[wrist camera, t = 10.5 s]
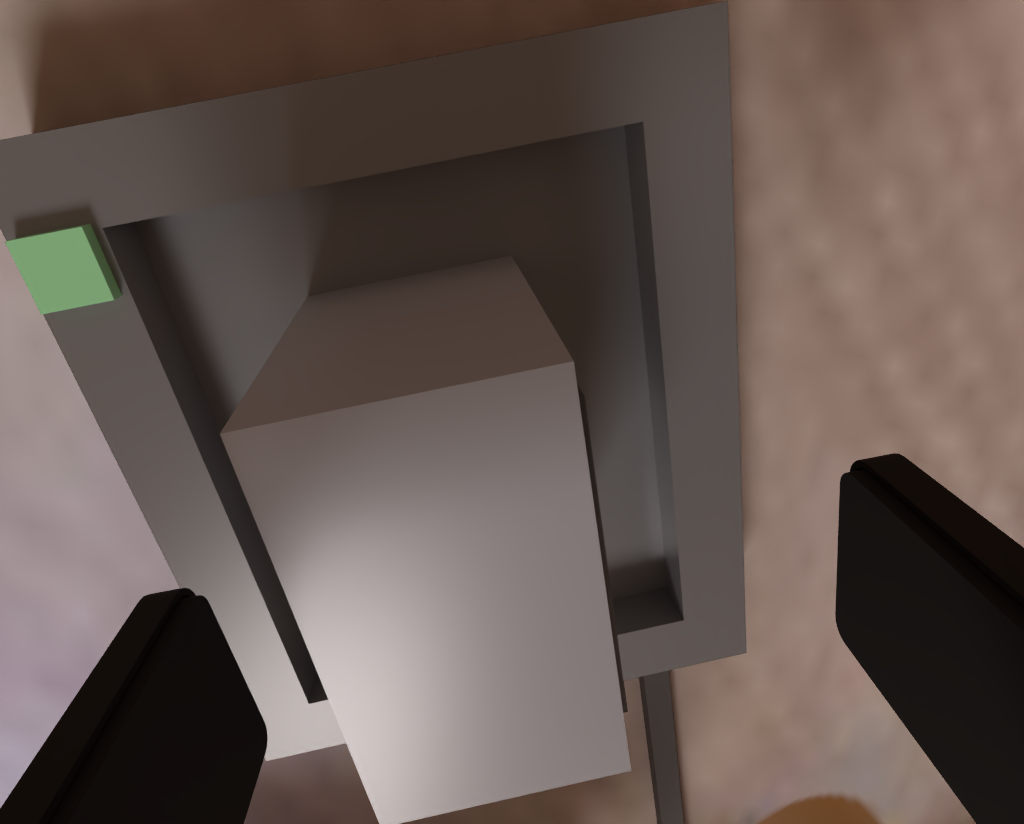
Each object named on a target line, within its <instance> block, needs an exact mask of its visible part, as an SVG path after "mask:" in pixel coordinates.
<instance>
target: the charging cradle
mask: <svg viewBox="0 0 1024 824" xmlns="http://www.w3.org/2000/svg"><path fill="white" fill-rule="evenodd" d="M0 229H1V231H2V233H3V235H4V237H5V239H6V241H5V243H6V245H7V247H8V249H9V251H10V253H11V255H12V257H13V259H14V261H15V263H16V265H17V267H18V269H19V271H20V273H21V275H22V277H23V279H24V281H25V283H26V285H27V287H28V289H29V291H30V293H31V295H32V297H33V299H34V301H35V303H36V305H37V307H38V309H39V311H40V313H41V315H42V314H43V315H44V317H45V319H46V321H47V323H48V325H49V327H50V329H51V331H52V333H53V335H54V337H55V339H56V341H57V343H58V345H59V347H60V349H61V351H62V353H63V355H64V357H65V359H66V361H67V363H68V365H69V367H70V369H71V371H72V373H73V375H74V377H75V379H76V381H77V383H78V385H79V387H80V389H81V391H82V393H83V395H84V397H85V399H86V401H87V403H88V405H89V407H90V409H91V411H92V413H93V415H94V417H95V419H96V421H97V423H98V425H99V427H100V429H101V431H102V433H103V435H104V437H105V439H106V441H107V443H108V445H109V447H110V449H111V451H112V453H113V455H114V457H115V459H116V461H117V463H118V465H119V467H120V469H121V471H122V473H123V475H124V477H125V479H126V481H127V483H128V485H129V487H130V489H131V491H132V493H133V495H134V497H135V499H136V501H137V503H138V505H139V507H140V509H141V511H142V513H143V515H144V517H145V519H146V521H147V523H148V525H149V527H150V529H151V531H152V533H153V535H154V537H155V539H156V541H157V543H158V545H159V547H160V549H161V551H162V553H163V555H164V557H165V559H166V561H167V563H168V565H169V567H170V569H171V571H172V573H173V575H174V577H175V579H176V581H177V583H178V585H179V587H180V588H189V589H191V590H192V591H193V592H194V593H195V595H196V596H197V595H202V596H204V597H205V598H207V600H208V602H209V603H210V606H211V608H212V610H213V612H214V614H215V616H216V618H217V621H218V623H219V625H220V627H221V629H222V631H223V634H224V636H225V638H226V640H227V642H228V644H229V646H230V649H231V651H232V653H233V655H234V657H235V659H236V661H237V664H238V666H239V668H240V670H241V672H242V674H243V677H244V679H245V681H246V683H247V685H248V687H249V689H250V692H251V694H252V696H253V698H254V700H255V702H256V704H257V707H258V709H259V711H260V713H261V715H262V717H263V719H264V722H265V724H266V728H267V738H268V740H267V749H266V753H265V756H264V757H265V759H266V761H269V760H274V759H278V758H282V757H287V756H291V755H296V754H300V753H305V752H309V751H313V750H318V749H322V748H327V747H331V746H336V745H340V744H344V743H346V741H345V739H344V736H343V734H342V732H341V729H340V727H339V724H338V722H337V719H336V717H335V714H334V712H333V710H332V707H331V705H330V702H329V700H328V697H327V695H326V692H325V690H324V688H323V685H322V683H321V680H320V678H319V675H318V673H317V670H316V668H315V666H314V663H313V661H312V658H311V656H310V653H309V651H308V648H307V646H306V644H305V641H304V639H303V636H302V634H301V631H300V629H299V626H298V624H297V622H296V619H295V617H294V614H293V612H292V609H291V607H290V605H289V602H288V600H287V597H286V595H285V592H284V590H283V587H282V585H281V583H280V580H279V578H278V575H277V573H276V570H275V568H274V565H273V563H272V561H271V558H270V556H269V553H268V551H267V548H266V546H265V543H264V541H263V539H262V536H261V534H260V531H259V529H258V526H257V524H256V521H255V519H254V517H253V514H252V512H251V509H250V507H249V504H248V502H247V499H246V497H245V495H244V492H243V490H242V487H241V485H240V482H239V480H238V477H237V475H236V473H235V470H234V468H233V465H232V463H231V460H230V458H229V456H228V453H227V451H226V448H225V446H224V443H223V441H222V438H221V436H220V433H221V431H222V430H223V428H224V426H225V425H226V423H227V422H228V420H229V419H230V417H231V415H232V414H233V412H234V411H235V409H236V408H237V406H238V404H239V403H240V401H241V400H242V398H243V397H244V395H245V393H246V392H247V390H248V389H249V387H250V386H251V384H252V383H253V381H254V379H255V378H256V376H257V375H258V373H259V372H260V370H261V368H262V367H263V365H264V364H265V362H266V361H267V359H268V357H269V356H270V354H271V353H272V351H273V350H274V348H275V346H276V345H277V343H278V342H279V340H280V339H281V337H282V335H283V334H284V332H285V331H286V329H287V328H288V326H289V325H290V323H291V321H292V320H293V318H294V317H295V315H296V314H297V312H298V310H299V309H300V307H301V306H302V304H303V303H304V301H305V299H306V298H307V296H310V295H315V294H320V293H325V292H330V291H335V290H340V289H345V288H350V287H355V286H360V285H365V284H370V283H375V282H380V281H385V280H390V279H396V278H401V277H406V276H411V275H416V274H421V273H426V272H431V271H436V270H441V269H446V268H451V267H456V266H461V265H466V264H471V263H476V262H481V261H486V260H491V259H496V258H501V257H506V256H511V255H512V257H513V259H514V261H515V262H516V264H517V266H518V267H519V269H520V271H521V272H522V274H523V276H524V278H525V279H526V281H527V283H528V284H529V286H530V288H531V289H532V291H533V293H534V295H535V296H536V298H537V300H538V301H539V303H540V305H541V306H542V308H543V310H544V311H545V313H546V315H547V317H548V318H549V320H550V322H551V323H552V325H553V327H554V328H555V330H556V332H557V334H558V335H559V337H560V339H561V340H562V342H563V344H564V345H565V347H566V349H567V351H568V352H569V354H570V356H571V357H572V359H573V361H574V366H575V373H576V380H577V384H578V386H579V387H580V389H581V391H582V393H583V395H584V397H585V402H586V410H587V417H588V424H589V432H590V439H591V446H592V454H593V461H594V468H595V476H596V483H597V490H598V498H599V505H600V512H601V520H602V527H603V534H604V542H605V549H606V556H607V564H608V571H609V578H610V586H611V593H612V600H613V608H614V615H615V622H616V630H617V637H618V644H619V652H620V659H621V666H622V674H623V681H624V680H628V679H633V678H637V677H641V676H646V675H650V674H655V673H659V672H664V671H668V670H673V669H677V668H681V667H686V666H690V665H695V664H699V663H704V662H708V661H712V660H717V659H721V658H726V657H730V656H735V655H739V654H743V653H746V622H745V587H744V552H743V518H742V483H741V448H740V413H739V379H738V344H737V309H736V275H735V240H734V205H733V170H732V136H731V101H730V66H729V31H728V1H724V2H719V3H713V4H708V5H703V6H698V7H692V8H687V9H682V10H677V11H672V12H666V13H661V14H656V15H651V16H645V17H640V18H635V19H630V20H624V21H619V22H614V23H609V24H604V25H598V26H593V27H588V28H583V29H577V30H572V31H567V32H562V33H557V34H551V35H546V36H541V37H536V38H530V39H525V40H520V41H515V42H510V43H504V44H499V45H494V46H489V47H483V48H478V49H473V50H468V51H463V52H457V53H452V54H447V55H442V56H436V57H431V58H426V59H421V60H416V61H410V62H405V63H400V64H395V65H389V66H384V67H379V68H374V69H369V70H363V71H358V72H353V73H348V74H342V75H337V76H332V77H327V78H322V79H316V80H311V81H306V82H301V83H295V84H290V85H285V86H280V87H275V88H269V89H264V90H259V91H254V92H248V93H243V94H238V95H233V96H228V97H222V98H217V99H212V100H207V101H201V102H196V103H191V104H186V105H181V106H175V107H170V108H165V109H160V110H154V111H149V112H144V113H139V114H134V115H128V116H123V117H118V118H113V119H107V120H102V121H97V122H92V123H87V124H81V125H76V126H71V127H66V128H60V129H55V130H50V131H45V132H40V133H34V134H29V135H24V136H19V137H13V138H8V139H3V140H0Z"/></svg>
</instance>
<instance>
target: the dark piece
mask: <svg viewBox="0 0 1024 824" xmlns="http://www.w3.org/2000/svg"><path fill="white" fill-rule="evenodd" d="M639 681H640V689H641V697H642V705H643V713H644V721H645V729H646V737H647V745H648V753H649V760H650V768H651V776H652V784H653V792H654V800H655V808H656V816H657V824H684V821H683V811H682V801H681V791H680V781H679V771H678V760H677V750H676V740H675V730H674V720H673V710H672V700H671V690H670V679H669V670H668V671H664V672H659V673H655V674H650V675H646V676H641V677H639Z"/></svg>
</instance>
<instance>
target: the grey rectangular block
mask: <svg viewBox="0 0 1024 824" xmlns="http://www.w3.org/2000/svg"><path fill="white" fill-rule="evenodd" d="M220 436H221V438H222V441H223V443H224V446H225V448H226V451H227V453H228V456H229V458H230V460H231V463H232V465H233V468H234V470H235V473H236V475H237V477H238V480H239V482H240V485H241V487H242V490H243V492H244V495H245V497H246V499H247V502H248V504H249V507H250V509H251V512H252V514H253V517H254V519H255V521H256V524H257V526H258V529H259V531H260V534H261V536H262V539H263V541H264V543H265V546H266V548H267V551H268V553H269V556H270V558H271V561H272V563H273V565H274V568H275V570H276V573H277V575H278V578H279V580H280V583H281V585H282V587H283V590H284V592H285V595H286V597H287V600H288V602H289V605H290V607H291V609H292V612H293V614H294V617H295V619H296V622H297V624H298V626H299V629H300V631H301V634H302V636H303V639H304V641H305V644H306V646H307V648H308V651H309V653H310V656H311V658H312V661H313V663H314V666H315V668H316V670H317V673H318V675H319V678H320V680H321V683H322V685H323V688H324V690H325V692H326V695H327V697H328V700H329V702H330V705H331V707H332V710H333V712H334V714H335V717H336V719H337V722H338V724H339V727H340V729H341V732H342V734H343V736H344V739H345V741H346V744H347V746H348V749H349V751H350V754H351V756H352V758H353V761H354V763H355V766H356V768H357V771H358V773H359V775H360V778H361V780H362V783H363V785H364V788H365V790H366V793H367V795H368V797H369V800H370V802H371V805H372V807H373V810H374V812H375V815H376V817H377V819H378V822H379V824H400V823H405V822H409V821H413V820H418V819H422V818H427V817H431V816H435V815H440V814H444V813H449V812H453V811H457V810H462V809H466V808H470V807H475V806H479V805H484V804H488V803H492V802H497V801H501V800H506V799H510V798H514V797H519V796H523V795H527V794H532V793H536V792H541V791H545V790H549V789H554V788H558V787H562V786H567V785H571V784H576V783H580V782H584V781H589V780H593V779H598V778H602V777H606V776H611V775H615V774H619V773H624V772H628V771H631V765H630V758H629V750H628V743H627V736H626V729H625V722H624V715H623V713H624V712H628V711H627V703H626V696H625V688H624V681H623V674H622V666H621V659H620V652H619V644H618V637H617V630H616V622H615V615H614V608H613V600H612V593H611V586H610V578H609V571H608V564H607V556H606V549H605V542H604V534H603V527H602V520H601V512H600V505H599V498H598V490H597V483H596V476H595V468H594V461H593V454H592V446H591V439H590V432H589V424H588V417H587V410H586V402H585V397H584V395H583V393H582V391H581V389H580V387H579V386H578V384H577V380H576V373H575V366H574V361H573V359H572V357H571V356H570V354H569V352H568V351H567V349H566V347H565V345H564V344H563V342H562V340H561V339H560V337H559V335H558V334H557V332H556V330H555V328H554V327H553V325H552V323H551V322H550V320H549V318H548V317H547V315H546V313H545V311H544V310H543V308H542V306H541V305H540V303H539V301H538V300H537V298H536V296H535V295H534V293H533V291H532V289H531V288H530V286H529V284H528V283H527V281H526V279H525V278H524V276H523V274H522V272H521V271H520V269H519V267H518V266H517V264H516V262H515V261H514V259H513V257H512V255H511V256H506V257H501V258H496V259H491V260H486V261H481V262H476V263H471V264H466V265H461V266H456V267H451V268H446V269H441V270H436V271H431V272H426V273H421V274H416V275H411V276H406V277H401V278H396V279H390V280H385V281H380V282H375V283H370V284H365V285H360V286H355V287H350V288H345V289H340V290H335V291H330V292H325V293H320V294H315V295H310V296H307V298H306V299H305V301H304V303H303V304H302V306H301V307H300V309H299V310H298V312H297V314H296V315H295V317H294V318H293V320H292V321H291V323H290V325H289V326H288V328H287V329H286V331H285V332H284V334H283V335H282V337H281V339H280V340H279V342H278V343H277V345H276V346H275V348H274V350H273V351H272V353H271V354H270V356H269V357H268V359H267V361H266V362H265V364H264V365H263V367H262V368H261V370H260V372H259V373H258V375H257V376H256V378H255V379H254V381H253V383H252V384H251V386H250V387H249V389H248V390H247V392H246V393H245V395H244V397H243V398H242V400H241V401H240V403H239V404H238V406H237V408H236V409H235V411H234V412H233V414H232V415H231V417H230V419H229V420H228V422H227V423H226V425H225V426H224V428H223V430H222V431H221V433H220Z"/></svg>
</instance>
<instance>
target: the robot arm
mask: <svg viewBox="0 0 1024 824" xmlns="http://www.w3.org/2000/svg"><path fill="white" fill-rule="evenodd" d="M836 623H837V627H838V630H839V633H840V635H841V637H842V639H843V641H844V643H845V644H846V645H847V647H848V648H849V650H850V651H851V652H852V654H853V655H854V656H855V658H856V659H857V661H858V662H859V663H860V665H861V666H862V667H863V669H864V670H865V671H866V673H867V674H868V676H869V677H870V678H871V680H872V681H873V682H874V684H875V685H876V687H877V688H878V689H879V691H880V692H881V693H882V695H883V696H884V697H885V699H886V700H887V702H888V703H889V704H890V706H891V707H892V708H893V710H894V711H895V713H896V714H897V715H898V717H899V718H900V719H901V721H902V722H903V723H904V725H905V726H906V728H907V729H908V730H909V732H910V733H911V734H912V736H913V737H914V739H915V740H916V741H917V743H918V744H919V745H920V747H921V748H922V749H923V751H924V752H925V754H926V755H927V756H928V758H929V759H930V760H931V762H932V763H933V765H934V766H935V767H936V769H937V770H938V771H939V773H940V774H941V775H942V777H943V778H944V780H945V781H946V782H947V784H948V785H949V786H950V788H951V789H952V791H953V792H954V793H955V795H956V796H957V797H958V799H959V800H960V801H961V803H962V804H963V806H964V807H965V808H966V810H967V811H968V812H969V814H970V815H971V817H972V818H973V819H974V821H975V822H976V823H977V824H1024V548H1023V547H1022V546H1021V545H1019V544H1018V543H1017V542H1015V541H1014V540H1013V539H1011V538H1010V537H1009V536H1008V535H1006V534H1005V533H1004V532H1002V531H1001V530H1000V529H998V528H997V527H996V526H994V525H993V524H992V523H991V522H989V521H988V520H987V519H985V518H984V517H983V516H981V515H980V514H979V513H977V512H976V511H975V510H973V509H972V508H971V507H970V506H968V505H967V504H966V503H964V502H963V501H962V500H960V499H959V498H958V497H956V496H955V495H954V494H953V493H951V492H950V491H949V490H947V489H946V488H945V487H943V486H942V485H941V484H939V483H938V482H937V481H935V480H934V479H933V478H932V477H930V476H929V475H928V474H926V473H925V472H924V471H922V470H921V469H920V468H918V467H917V466H916V465H915V464H913V463H912V462H911V461H909V460H908V459H907V458H905V457H904V456H902V455H900V454H889V455H883V456H878V457H873V458H868V459H862V460H857V461H855V462H854V463H853V464H852V466H851V469H850V472H848V473H845V474H843V475H842V477H841V481H840V500H839V529H838V558H837V587H836ZM267 740H268V738H267V728H266V724H265V722H264V719H263V717H262V715H261V713H260V711H259V709H258V707H257V704H256V702H255V700H254V698H253V696H252V694H251V692H250V689H249V687H248V685H247V683H246V681H245V679H244V677H243V674H242V672H241V670H240V668H239V666H238V664H237V661H236V659H235V657H234V655H233V653H232V651H231V649H230V646H229V644H228V642H227V640H226V638H225V636H224V634H223V631H222V629H221V627H220V625H219V623H218V621H217V618H216V616H215V614H214V612H213V610H212V608H211V606H210V603H209V602H208V600H207V598H205V597H204V596H202V595H197V596H196V595H195V593H194V592H193V591H192V590H191V589H189V588H180V589H175V590H170V591H165V592H159V593H154V594H149V595H146V596H144V597H143V598H142V599H141V600H140V601H139V602H138V604H137V605H136V607H135V608H134V610H133V611H132V613H131V614H130V616H129V617H128V619H127V620H126V622H125V623H124V625H123V626H122V628H121V629H120V631H119V632H118V634H117V635H116V637H115V638H114V639H113V641H112V642H111V644H110V645H109V647H108V648H107V650H106V651H105V653H104V654H103V656H102V657H101V659H100V660H99V662H98V663H97V665H96V666H95V668H94V669H93V671H92V672H91V674H90V675H89V677H88V678H87V680H86V681H85V683H84V684H83V686H82V687H81V689H80V690H79V692H78V693H77V695H76V696H75V698H74V699H73V701H72V702H71V704H70V705H69V707H68V708H67V710H66V711H65V713H64V714H63V716H62V717H61V719H60V720H59V722H58V723H57V725H56V726H55V728H54V729H53V731H52V732H51V734H50V735H49V737H48V738H47V740H46V741H45V743H44V744H43V746H42V747H41V749H40V750H39V752H38V753H37V755H36V756H35V758H34V759H33V761H32V762H31V764H30V765H29V767H28V768H27V770H26V771H25V773H24V774H23V776H22V777H21V779H20V780H19V782H18V783H17V785H16V786H15V788H14V789H13V791H12V792H11V794H10V795H9V797H8V798H7V800H6V801H5V803H4V804H3V806H2V807H1V809H0V824H244V821H245V818H246V814H247V811H248V808H249V805H250V801H251V798H252V795H253V792H254V788H255V785H256V782H257V779H258V775H259V772H260V769H261V766H262V763H263V759H264V756H265V753H266V749H267Z"/></svg>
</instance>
